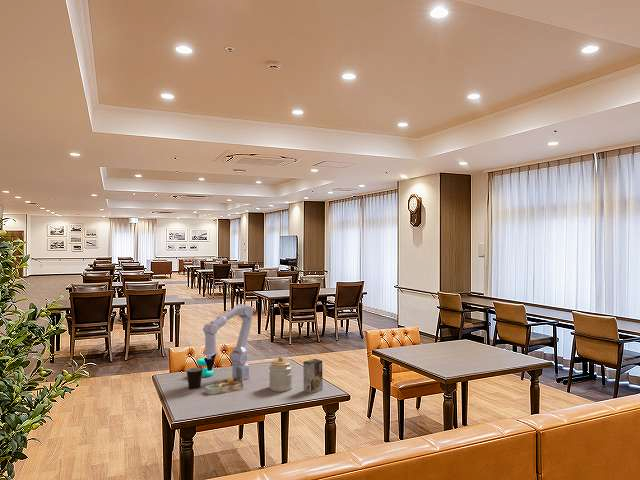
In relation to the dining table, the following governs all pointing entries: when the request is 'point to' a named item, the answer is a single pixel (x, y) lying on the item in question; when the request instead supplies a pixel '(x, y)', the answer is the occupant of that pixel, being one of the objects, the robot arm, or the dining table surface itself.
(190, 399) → the dining table surface
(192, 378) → the coffee mug
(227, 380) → the ball
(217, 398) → the dining table surface
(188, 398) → the dining table surface
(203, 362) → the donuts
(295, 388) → the dining table surface
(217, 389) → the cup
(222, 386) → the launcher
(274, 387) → the jar
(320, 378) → the coffee box
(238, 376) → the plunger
